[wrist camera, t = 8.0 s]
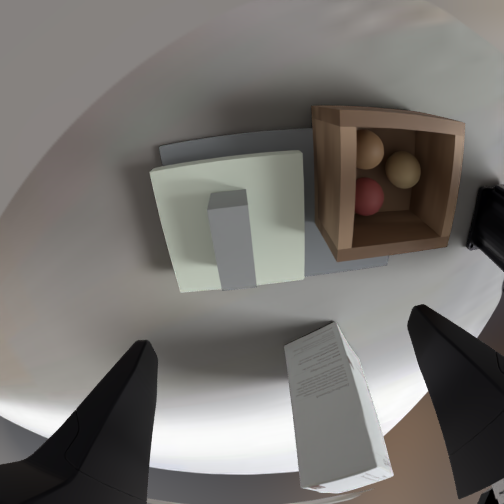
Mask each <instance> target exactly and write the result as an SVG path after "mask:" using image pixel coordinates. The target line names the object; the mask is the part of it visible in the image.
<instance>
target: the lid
mask: <svg viewBox="0 0 504 504" xmlns="http://www.w3.org/2000/svg"><path fill="white" fill-rule="evenodd" d="M150 177H151V182H152V186H153V191H154V195H155V199H156V204H157V208H158V212H159V216H160V220H161V224H162V228H163V232H164V236H165V240H166V243H167V247H168V251H169V254H170V258H171V262H172V265H173V269H174V272H175V275H176V279H177V282H178V286H179V289H180V292H181V293H182V292H194V291H205V290H215V289H222V291H225V290H235V289H245V288H254V287H257V285H263V284H272V283H280V282H289V281H297V280H304V265H305V223H304V177H303V153H302V152H301V151H299V150H290V151H277V152H265V153H254V154H244V155H235V156H227V157H219V158H211V159H204V160H198V161H191V162H185V163H179V164H173V165H167V166H162V167H156V168H153V169H152V170H151V171H150Z"/></svg>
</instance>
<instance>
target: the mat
mask: <svg viewBox="0 0 504 504" xmlns="http://www.w3.org/2000/svg"><path fill="white" fill-rule="evenodd" d="M159 150H160V155H161V161H162V166H167V165H173V164H179V163H185V162H191V161H198V160H204V159H211V158H219V157H227V156H235V155H244V154H254V153H265V152H277V151H290V150H299V151H301V152H302V153H303V177H304V223H305V265H304V277H306V276H314V275H322V274H329V273H337V272H344V271H351V270H358V269H365V268H372V267H379V266H385V265H387V264H388V258H389V255H388V256H381V257H373V258H366V259H358V260H351V261H343V262H336V260H335V258H334V256H333V254H332V253H331V251H330V249H329V247H328V245H327V244H326V242H325V240H324V238H323V237H322V235H321V233H320V231H319V230H318V228H317V226H316V224H315V189H314V151H313V128H304V129H285V130H270V131H259V132H248V133H239V134H230V135H222V136H215V137H208V138H201V139H195V140H189V141H183V142H177V143H172V144H167V145H162V146H159Z"/></svg>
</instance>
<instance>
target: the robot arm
mask: <svg viewBox="0 0 504 504" xmlns="http://www.w3.org/2000/svg"><path fill="white" fill-rule="evenodd" d="M466 247H467V248H468V249H469V250H476V249H480V250H481V251H482V252H483V253H485V254H486V255H487V256H488V257H489V258H490V259H491V260H492V261H493V262H494V263H495V264H496V265H497V266H498V267H499V268H500V269H501V270H502V271H503V272H504V185H495V187H481V188H480V189H479V192H478V197H477V202H476V207H475V212H474V217H473V221H472V225H471V230H470V234H469V237H468V241H467V245H466ZM503 292H504V288H503ZM407 327H408V331H409V335H410V338H411V341H412V344H413V348H414V351H415V355H416V358H417V361H418V364H419V367H420V370H421V372H422V375H423V378H424V380H425V383H426V386H427V388H428V391H429V394H430V396H431V399H432V402H433V405H434V408H435V411H436V414H437V417H438V420H439V424H440V426H441V430H442V433H443V437H444V440H445V444H446V447H447V451H448V455H449V459H450V463H451V467H452V472H453V475H454V480H455V484H456V490H457V495H458V499H461V498H464V497H466V496H468V495H471V494H473V493H475V492H478V491H480V490H482V489H484V488H486V487H488V486H490V485H492V487H491V488H490V489H488V490H487V491H486V492H484V493H483V494H481V497H480V499H479V502H478V504H504V356H502V355H501V354H499V353H498V352H495V350H493V349H492V348H490V347H489V346H488V345H486V344H485V343H483V342H482V341H480V340H479V339H477V338H476V337H474V336H473V335H471V334H470V333H468V332H467V331H465V330H464V329H462V328H461V327H459V326H457V325H456V324H454V323H453V322H451V321H450V320H448V319H447V318H445V317H443V316H442V315H440V314H439V313H437V312H436V311H434V310H432V309H431V308H429V307H428V306H426V305H424V304H421V305H417V306H414V307H413V309H412V311H411V314H410V317H409V320H408V324H407ZM157 371H158V358H157V355H156V353H155V351H154V349H153V347H152V345H151V343H150V342H149V341H148V340H137V341H136V342H135V343H134V344H133V345H132V346H131V347H130V348H129V350H128V351H127V352H126V353H125V354H124V355H123V356H122V357H121V358H120V360H119V361H118V362H117V363H116V364H115V365H114V366H113V367H112V369H111V370H110V371H109V372H108V373H107V374H106V375H105V377H104V378H103V379H102V380H101V381H100V382H99V383H98V384H97V386H96V387H95V388H94V389H93V390H92V391H91V393H90V394H89V395H88V396H87V397H86V398H85V399H84V401H83V402H82V403H81V404H80V405H79V406H78V408H77V409H76V410H75V411H74V412H73V413H72V414H71V416H70V417H69V418H68V419H67V420H66V421H65V422H64V424H63V425H62V426H61V427H60V428H59V429H58V430H57V431H56V432H55V433H54V434H53V435H52V436H51V437H50V438H49V439H48V440H47V441H46V442H45V443H44V444H43V445H42V446H41V447H39V449H38V450H37V451H35V452H34V454H32V455H31V456H29V457H28V458H26V459H24V460H21V461H18V462H12V463H7V464H1V465H0V504H147V502H146V501H147V487H148V473H149V461H150V451H151V441H152V432H153V424H154V416H155V408H156V400H157Z"/></svg>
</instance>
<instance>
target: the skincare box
mask: <svg viewBox="0 0 504 504" xmlns="http://www.w3.org/2000/svg"><path fill="white" fill-rule="evenodd" d="M284 350H285V357H286V365H287V373H288V380H289V388H290V396H291V404H292V412H293V421H294V430H295V439H296V448H297V457H298V466H299V475H300V484H301V488H304V489H309V490H314V491H318V492H320V493H341V492H346V491H349V490H353V489H356V488H360V487H362V486H366V485H369V484H372V483H375V482H378V481H381V480H384V479H387V478H389V477H392V476H393V475H394V474H393V471H392V468H391V464H390V460H389V456H388V452H387V449H386V445H385V442H384V438H383V434H382V430H381V427H380V423H379V420H378V417H377V413H376V410H375V406H374V403H373V400H372V397H371V394H370V391H369V388H368V384H367V381H366V378H365V375H364V372H363V369H362V366H361V363H360V360H359V358H358V356H357V355H356V354H355V353H354V352H353V350H352V349H351V347H350V346H349V344H348V342H347V341H346V339H345V337H344V336H343V334H342V332H341V330H340V328H339V326H338V324H337V323H336V322H333V323H331V324H329V325H327V326H325V327H323V328H321V329H319V330H317V331H315V332H312V333H310V334H308V335H306V336H304V337H302V338H299V339H297V340H295V341H293V342H291V343H289V344H287V345H285V346H284Z"/></svg>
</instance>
